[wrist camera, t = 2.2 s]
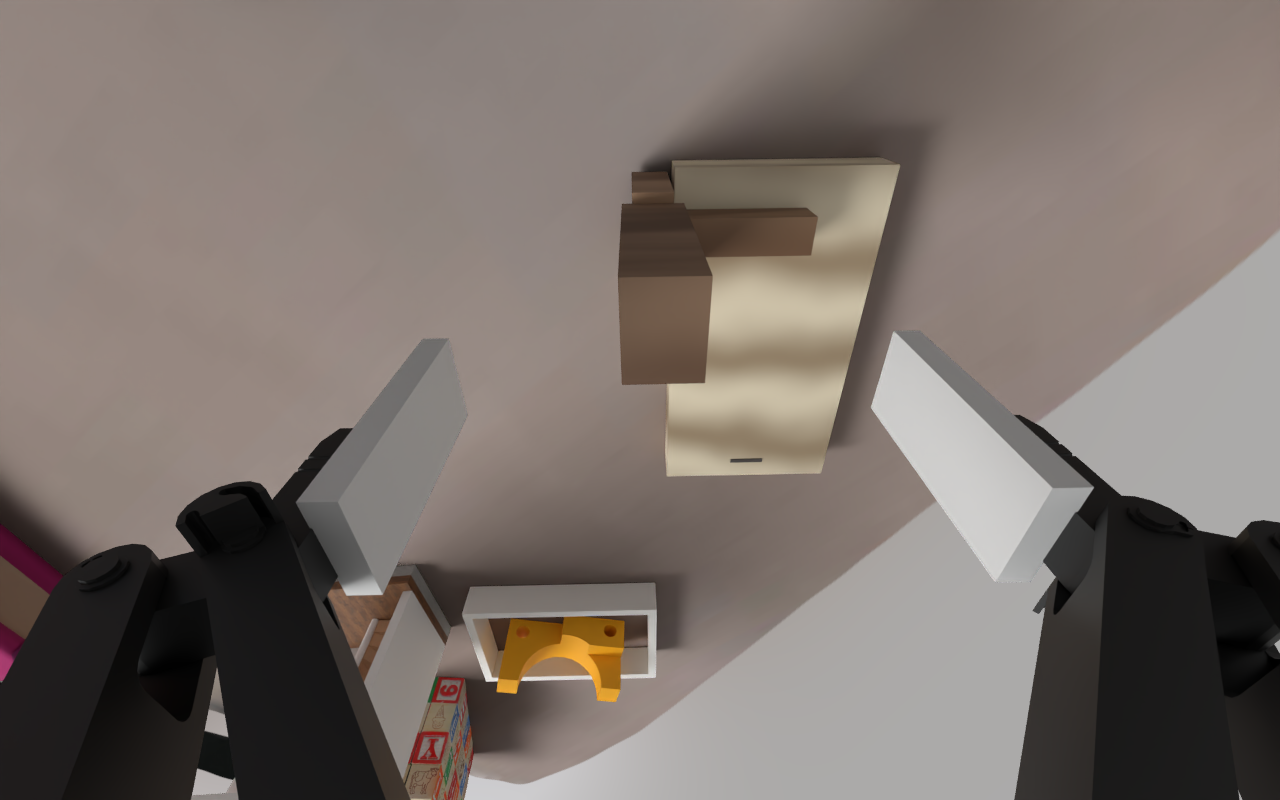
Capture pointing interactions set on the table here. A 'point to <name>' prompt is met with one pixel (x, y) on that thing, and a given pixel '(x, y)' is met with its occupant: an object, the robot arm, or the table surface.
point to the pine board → (778, 316)
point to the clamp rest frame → (560, 604)
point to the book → (20, 594)
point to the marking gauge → (685, 273)
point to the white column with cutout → (391, 655)
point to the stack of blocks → (442, 745)
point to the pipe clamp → (565, 650)
